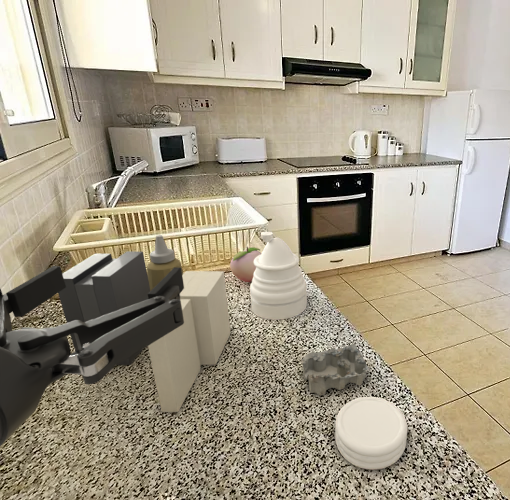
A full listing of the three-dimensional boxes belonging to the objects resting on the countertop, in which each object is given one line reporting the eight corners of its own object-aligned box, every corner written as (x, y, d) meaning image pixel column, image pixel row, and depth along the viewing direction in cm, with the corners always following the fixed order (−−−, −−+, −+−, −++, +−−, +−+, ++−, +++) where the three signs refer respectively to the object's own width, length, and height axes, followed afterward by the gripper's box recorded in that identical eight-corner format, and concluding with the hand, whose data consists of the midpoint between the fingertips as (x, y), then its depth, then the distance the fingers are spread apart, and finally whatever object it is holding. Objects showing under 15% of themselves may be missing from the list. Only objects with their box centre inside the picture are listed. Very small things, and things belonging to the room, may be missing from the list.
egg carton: (310, 399, 60) (309, 379, 58) (299, 369, 67) (299, 350, 65) (371, 384, 63) (372, 365, 62) (355, 358, 70) (356, 339, 68)
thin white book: (161, 412, 57) (145, 334, 52) (186, 368, 66) (174, 299, 61) (178, 412, 57) (163, 334, 52) (200, 368, 66) (190, 299, 61)
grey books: (78, 364, 66) (52, 275, 60) (113, 330, 77) (94, 250, 70) (130, 364, 67) (109, 276, 60) (158, 330, 77) (143, 251, 70)
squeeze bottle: (143, 316, 82) (127, 239, 75) (172, 299, 89) (160, 227, 82) (171, 324, 79) (157, 245, 72) (199, 307, 86) (188, 233, 79)
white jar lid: (364, 486, 46) (365, 466, 45) (321, 432, 54) (321, 413, 53) (420, 447, 52) (423, 428, 51) (375, 403, 59) (376, 385, 58)
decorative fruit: (253, 292, 93) (251, 255, 89) (226, 286, 96) (222, 250, 92) (274, 277, 101) (272, 243, 98) (248, 272, 104) (245, 238, 100)
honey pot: (257, 324, 80) (251, 245, 73) (246, 297, 90) (240, 227, 84) (314, 313, 85) (313, 238, 78) (298, 288, 95) (295, 221, 89)
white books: (175, 364, 67) (162, 296, 62) (195, 333, 76) (185, 270, 71) (215, 365, 67) (206, 296, 62) (230, 333, 76) (224, 271, 71)
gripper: (-240, 467, 24) (18, 305, 44) (147, 464, 25) (231, 306, 45) (-311, 374, 22) (-2, 245, 41) (126, 374, 23) (225, 248, 42)
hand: (120, 277), depth 43 cm, fingers open, 13 cm apart
